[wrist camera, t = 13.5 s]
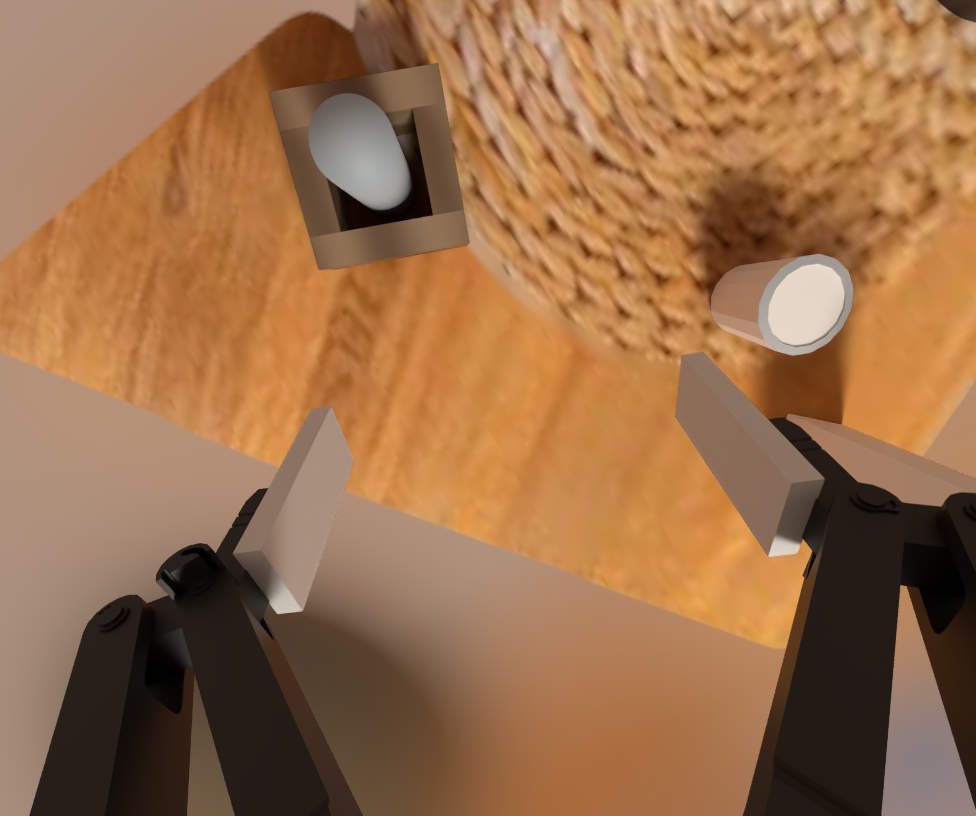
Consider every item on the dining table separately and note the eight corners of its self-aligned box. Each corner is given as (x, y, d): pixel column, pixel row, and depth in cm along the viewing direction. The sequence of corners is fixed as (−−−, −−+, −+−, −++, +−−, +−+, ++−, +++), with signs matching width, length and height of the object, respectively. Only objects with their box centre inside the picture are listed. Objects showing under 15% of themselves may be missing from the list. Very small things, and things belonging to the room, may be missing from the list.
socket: (439, 94, 31) (438, 62, 26) (466, 245, 34) (469, 242, 29) (296, 119, 30) (268, 91, 26) (337, 269, 33) (318, 269, 29)
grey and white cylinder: (696, 273, 36) (752, 274, 29) (776, 243, 36) (851, 238, 29) (710, 351, 38) (765, 369, 31) (786, 323, 38) (858, 336, 31)
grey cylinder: (408, 151, 31) (384, 86, 20) (420, 211, 33) (404, 182, 21) (352, 160, 31) (297, 101, 20) (366, 220, 33) (322, 196, 21)
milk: (842, 424, 41) (1246, 584, 21) (814, 481, 43) (1163, 683, 22) (785, 412, 40) (1149, 568, 20) (760, 471, 42) (1070, 672, 21)
